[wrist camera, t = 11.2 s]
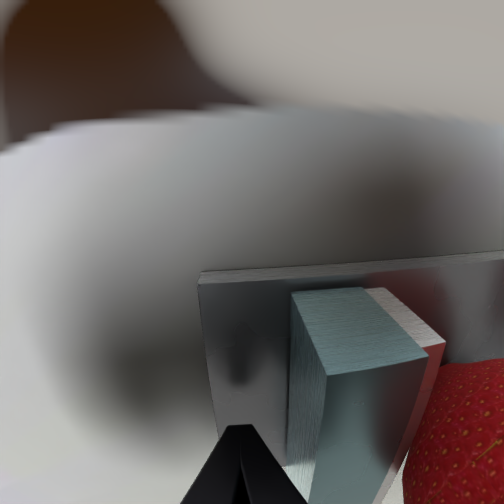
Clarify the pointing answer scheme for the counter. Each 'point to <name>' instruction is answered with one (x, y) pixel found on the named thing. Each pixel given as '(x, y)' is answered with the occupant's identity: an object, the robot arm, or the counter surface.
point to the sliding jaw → (355, 391)
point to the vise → (331, 277)
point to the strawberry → (460, 438)
